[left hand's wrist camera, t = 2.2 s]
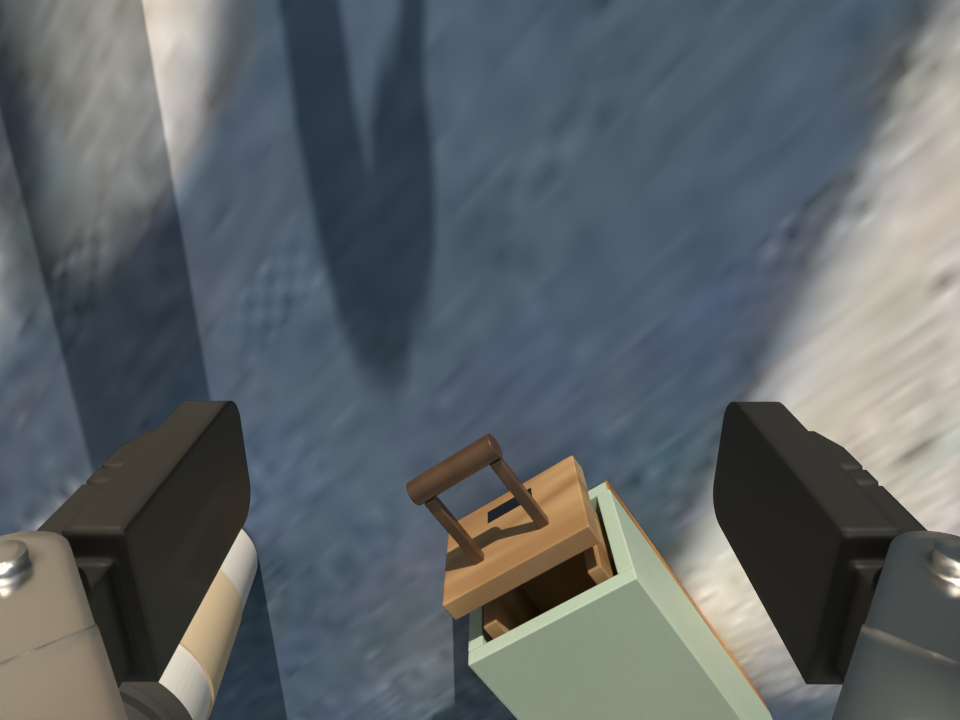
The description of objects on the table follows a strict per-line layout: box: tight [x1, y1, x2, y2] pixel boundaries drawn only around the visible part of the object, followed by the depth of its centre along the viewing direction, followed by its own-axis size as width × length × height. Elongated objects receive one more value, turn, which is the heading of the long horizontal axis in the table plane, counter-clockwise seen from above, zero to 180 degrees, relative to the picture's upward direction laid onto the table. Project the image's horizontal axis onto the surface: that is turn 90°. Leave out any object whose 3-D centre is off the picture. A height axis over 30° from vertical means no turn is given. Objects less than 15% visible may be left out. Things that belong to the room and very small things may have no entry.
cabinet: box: [468, 480, 773, 720], centre depth 41 cm, size 21×10×9 cm, turn 34°
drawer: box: [406, 434, 618, 639], centre depth 39 cm, size 26×9×7 cm, turn 34°
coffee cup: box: [119, 529, 258, 720], centre depth 36 cm, size 9×9×15 cm
